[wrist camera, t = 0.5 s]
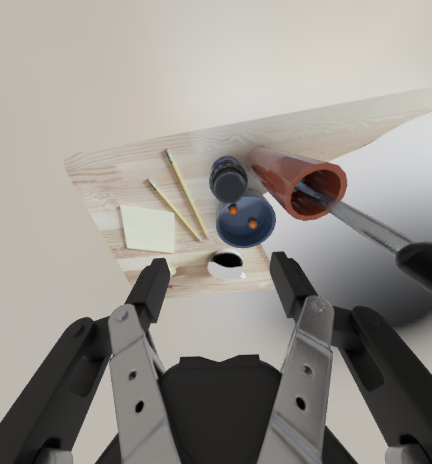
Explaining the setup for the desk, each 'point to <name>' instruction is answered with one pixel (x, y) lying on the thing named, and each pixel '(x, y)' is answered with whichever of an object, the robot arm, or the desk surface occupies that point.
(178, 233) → the desk surface
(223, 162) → the pill bottle
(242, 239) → the bowl
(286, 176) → the crock
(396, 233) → the ladle
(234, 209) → the bead
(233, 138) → the desk surface
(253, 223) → the bead
